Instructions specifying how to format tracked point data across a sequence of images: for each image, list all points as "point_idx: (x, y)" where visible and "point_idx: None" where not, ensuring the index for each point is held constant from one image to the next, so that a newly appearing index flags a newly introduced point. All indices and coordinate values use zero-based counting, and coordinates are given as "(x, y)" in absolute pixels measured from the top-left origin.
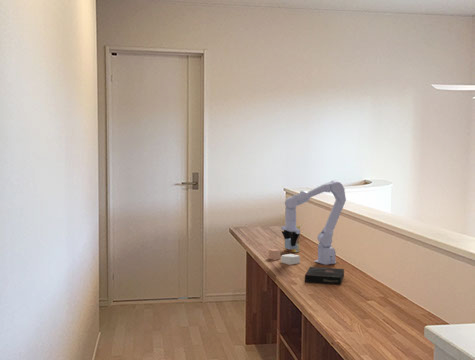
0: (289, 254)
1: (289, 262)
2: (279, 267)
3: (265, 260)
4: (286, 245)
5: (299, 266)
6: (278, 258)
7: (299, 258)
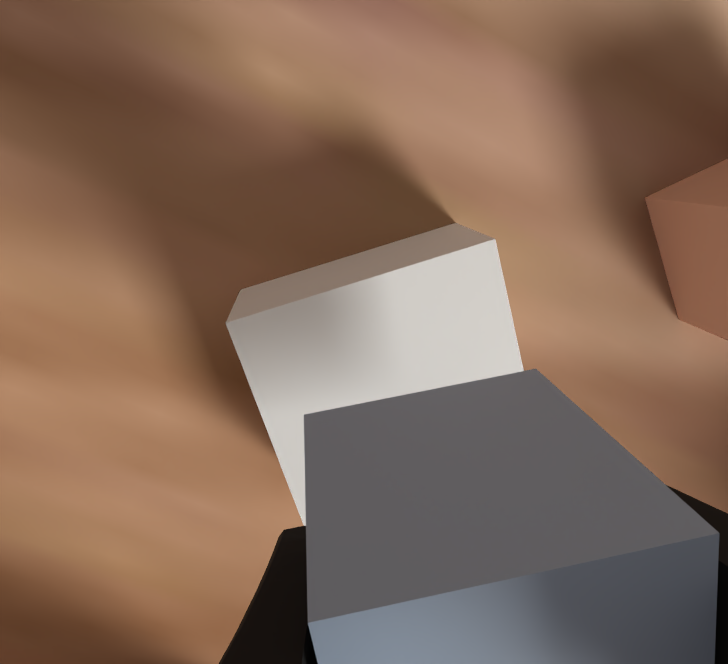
0: None
1: (252, 294)
2: (91, 5)
3: (700, 11)
4: (483, 422)
5: (76, 382)
6: (673, 279)
7: None
